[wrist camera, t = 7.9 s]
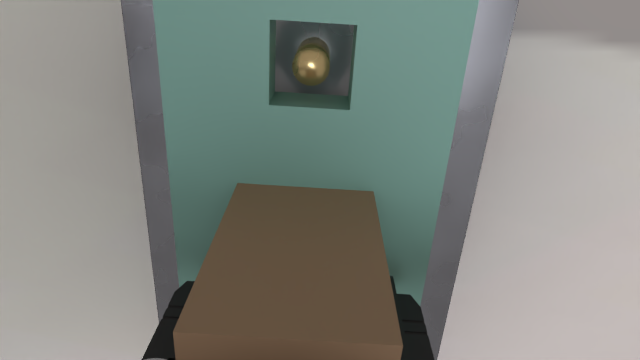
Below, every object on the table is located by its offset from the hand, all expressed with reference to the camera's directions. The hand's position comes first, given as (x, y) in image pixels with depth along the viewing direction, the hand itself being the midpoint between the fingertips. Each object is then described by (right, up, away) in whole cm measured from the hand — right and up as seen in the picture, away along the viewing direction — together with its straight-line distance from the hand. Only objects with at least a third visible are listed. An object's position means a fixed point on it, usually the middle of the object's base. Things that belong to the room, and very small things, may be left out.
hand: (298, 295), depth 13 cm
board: (0, +1, +2) cm, 3 cm away
